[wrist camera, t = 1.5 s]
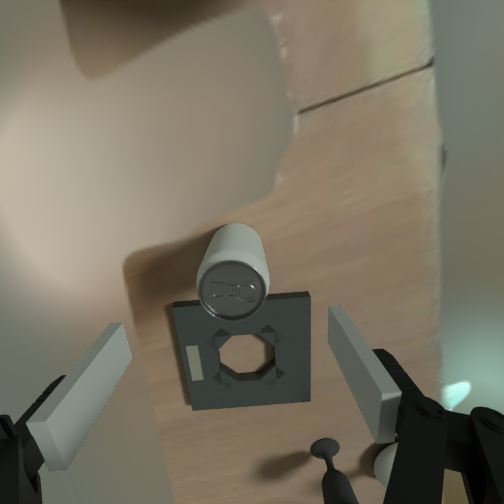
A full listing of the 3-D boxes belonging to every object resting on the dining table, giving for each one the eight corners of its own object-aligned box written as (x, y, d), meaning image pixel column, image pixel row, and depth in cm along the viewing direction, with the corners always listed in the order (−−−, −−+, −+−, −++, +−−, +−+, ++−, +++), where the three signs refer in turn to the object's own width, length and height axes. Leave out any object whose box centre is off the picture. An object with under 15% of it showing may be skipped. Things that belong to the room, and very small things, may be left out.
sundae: (319, 466, 46) (352, 600, 32) (299, 445, 44) (325, 579, 30) (351, 450, 45) (400, 582, 31) (332, 429, 43) (375, 558, 29)
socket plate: (174, 301, 34) (171, 308, 33) (308, 291, 34) (311, 297, 33) (194, 402, 40) (192, 412, 39) (308, 392, 40) (310, 402, 39)
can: (260, 272, 33) (268, 328, 22) (210, 269, 33) (192, 324, 22) (264, 223, 31) (275, 258, 20) (211, 220, 31) (192, 252, 20)
